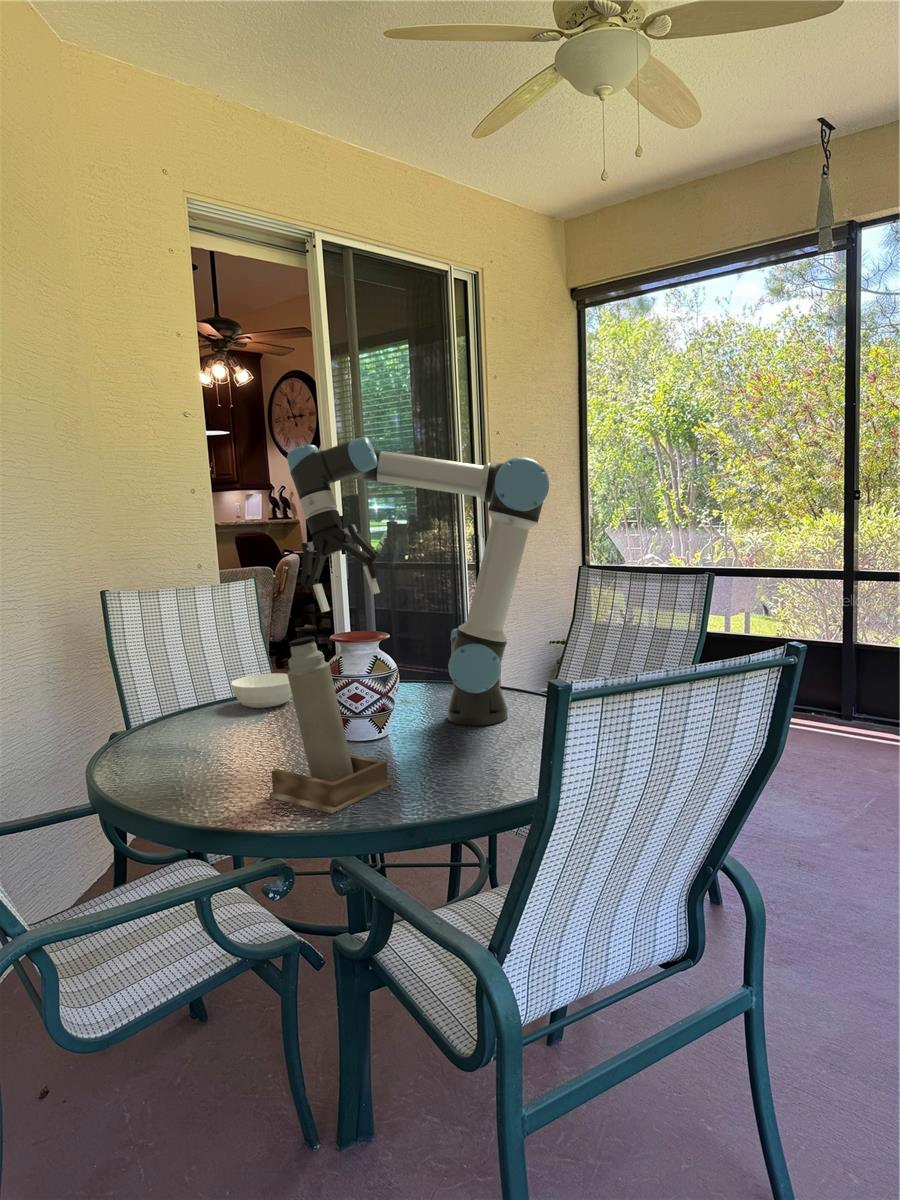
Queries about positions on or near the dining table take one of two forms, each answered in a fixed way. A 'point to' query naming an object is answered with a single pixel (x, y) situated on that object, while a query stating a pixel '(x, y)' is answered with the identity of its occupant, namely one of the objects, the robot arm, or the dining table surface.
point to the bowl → (262, 690)
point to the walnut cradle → (331, 786)
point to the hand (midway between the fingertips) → (350, 602)
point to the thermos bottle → (318, 712)
